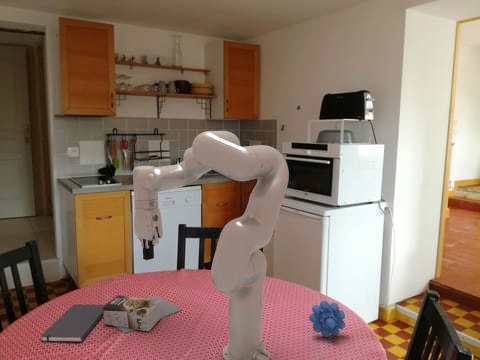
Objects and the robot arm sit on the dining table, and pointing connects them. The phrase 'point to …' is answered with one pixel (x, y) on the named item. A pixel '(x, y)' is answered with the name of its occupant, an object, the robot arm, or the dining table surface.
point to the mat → (166, 311)
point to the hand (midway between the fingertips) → (148, 258)
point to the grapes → (327, 319)
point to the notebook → (74, 324)
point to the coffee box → (132, 312)
